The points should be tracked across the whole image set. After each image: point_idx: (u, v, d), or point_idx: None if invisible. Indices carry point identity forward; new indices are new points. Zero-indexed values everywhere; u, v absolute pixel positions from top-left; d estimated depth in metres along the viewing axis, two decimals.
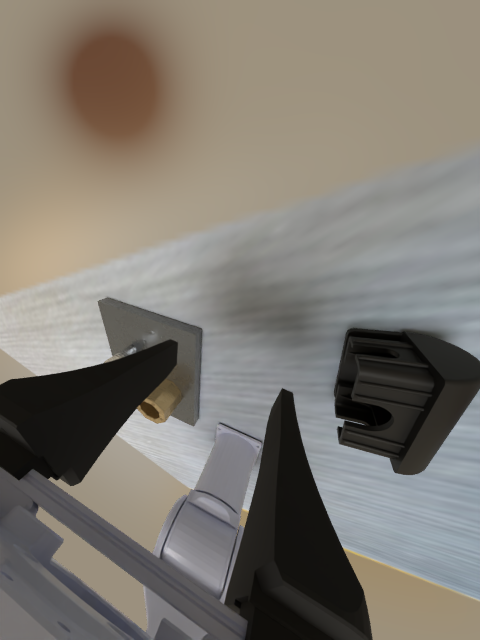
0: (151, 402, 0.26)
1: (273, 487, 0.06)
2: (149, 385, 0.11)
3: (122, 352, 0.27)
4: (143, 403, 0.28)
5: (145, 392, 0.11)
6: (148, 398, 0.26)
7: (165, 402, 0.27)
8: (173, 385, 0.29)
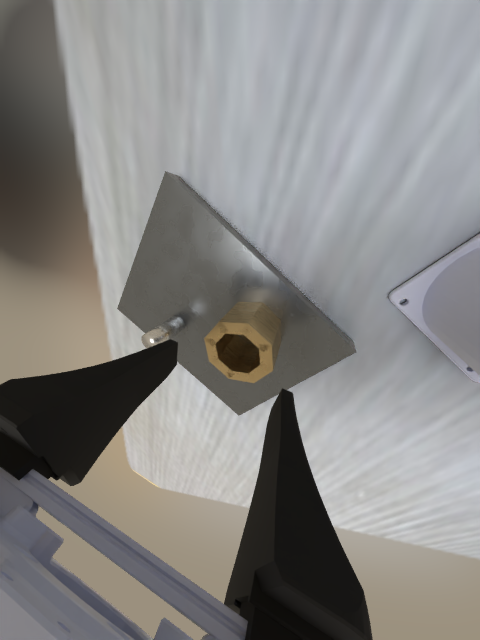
0: (219, 329, 0.13)
1: (273, 487, 0.06)
2: (149, 385, 0.11)
3: (160, 324, 0.18)
4: (229, 361, 0.15)
5: (145, 392, 0.11)
6: (212, 329, 0.14)
7: (241, 316, 0.13)
8: (243, 303, 0.16)
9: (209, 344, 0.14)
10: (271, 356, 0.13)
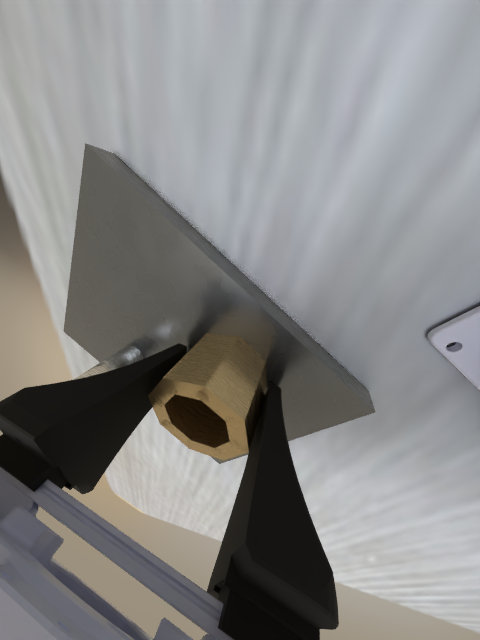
0: (166, 388, 0.09)
1: (254, 476, 0.06)
2: None
3: (106, 359, 0.14)
4: (190, 424, 0.10)
5: None
6: (157, 385, 0.09)
7: (201, 366, 0.09)
8: (212, 336, 0.11)
9: (156, 404, 0.09)
10: (245, 434, 0.08)
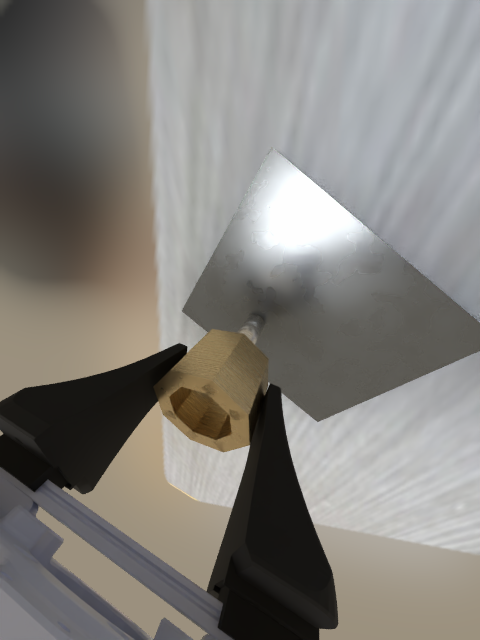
0: (173, 380, 0.09)
1: (253, 476, 0.06)
2: None
3: (243, 324, 0.17)
4: (192, 416, 0.11)
5: (155, 397, 0.11)
6: (163, 377, 0.09)
7: (208, 360, 0.09)
8: (217, 332, 0.11)
9: (161, 395, 0.10)
10: (247, 427, 0.08)
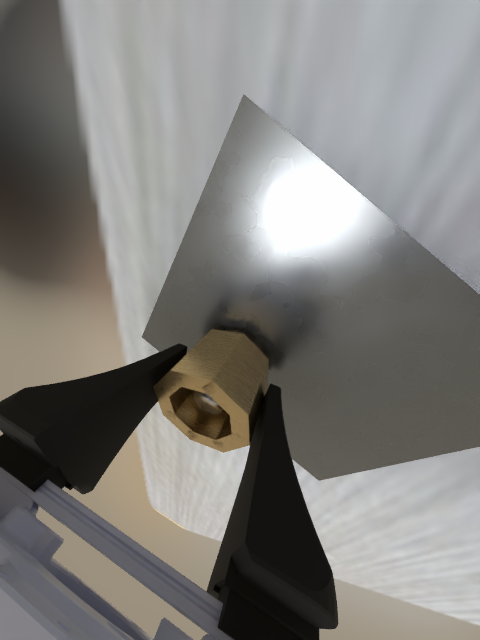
0: (173, 380, 0.09)
1: (253, 476, 0.06)
2: None
3: None
4: (192, 416, 0.11)
5: (155, 397, 0.11)
6: (163, 377, 0.09)
7: (208, 360, 0.09)
8: (217, 332, 0.11)
9: (161, 395, 0.10)
10: (247, 427, 0.08)
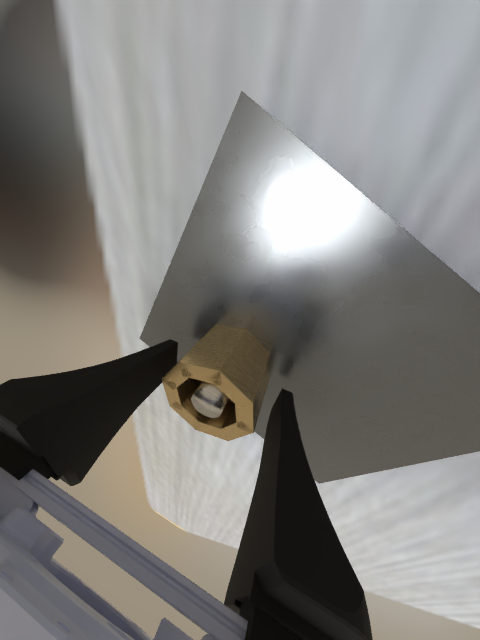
0: (181, 372, 0.09)
1: (273, 487, 0.06)
2: (149, 385, 0.11)
3: None
4: None
5: (145, 392, 0.11)
6: (171, 369, 0.10)
7: (214, 353, 0.09)
8: (221, 327, 0.12)
9: (169, 387, 0.10)
10: (252, 415, 0.09)
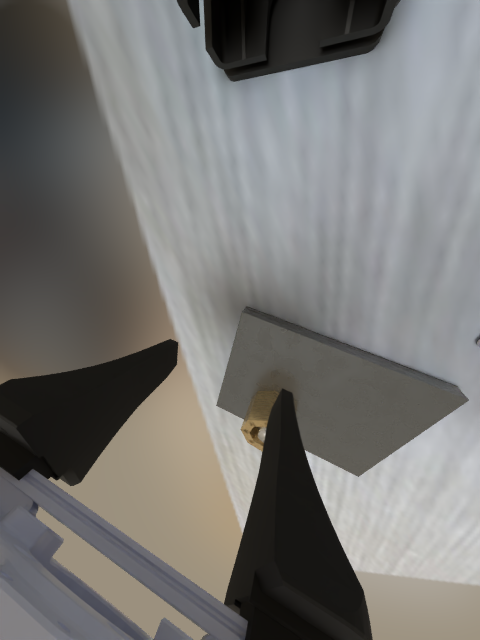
0: (249, 424, 0.19)
1: (273, 487, 0.06)
2: (149, 385, 0.11)
3: None
4: None
5: (145, 392, 0.11)
6: (244, 423, 0.20)
7: (262, 411, 0.20)
8: (261, 393, 0.22)
9: (245, 432, 0.20)
10: None
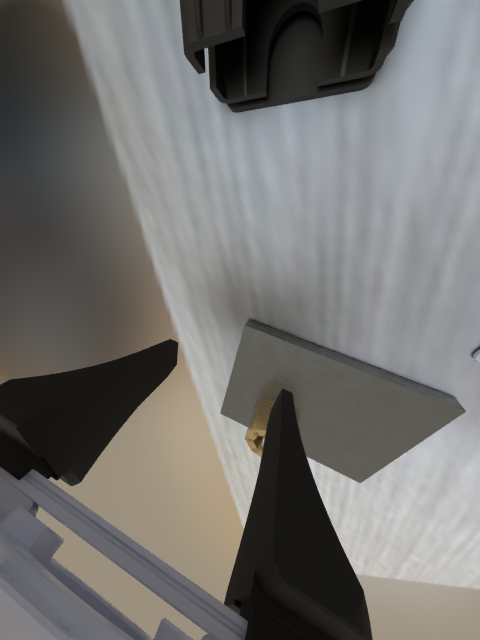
0: (253, 434, 0.20)
1: (273, 487, 0.06)
2: (149, 385, 0.11)
3: None
4: None
5: (145, 392, 0.11)
6: (248, 433, 0.20)
7: (265, 421, 0.20)
8: (264, 402, 0.23)
9: (249, 441, 0.21)
10: None
